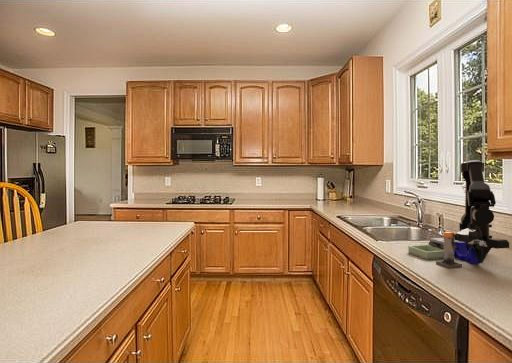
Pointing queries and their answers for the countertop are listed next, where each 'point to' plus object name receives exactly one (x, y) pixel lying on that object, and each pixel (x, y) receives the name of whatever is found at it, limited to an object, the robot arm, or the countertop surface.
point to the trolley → (439, 243)
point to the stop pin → (449, 247)
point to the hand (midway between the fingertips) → (480, 263)
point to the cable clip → (465, 253)
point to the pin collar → (449, 265)
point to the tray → (426, 252)
